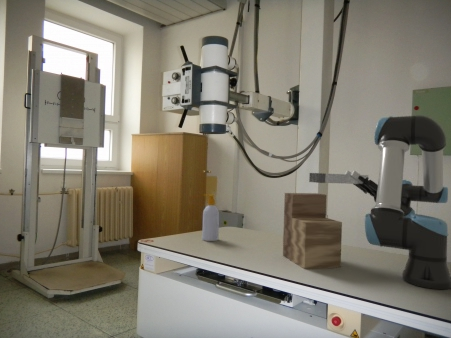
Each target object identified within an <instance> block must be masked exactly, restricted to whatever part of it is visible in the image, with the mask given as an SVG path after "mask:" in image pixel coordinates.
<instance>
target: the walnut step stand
mask: <svg viewBox="0 0 451 338" xmlns="http://www.w3.org/2000/svg"><path fill="white" fill-rule="evenodd" d="M283 204H284V207H283V240H282V243H283V244H282V257H284V258H285V259H288V260H289V261H291V262H292V263H294V264H296V265H298V266H299V267H300V268H302V269H304V270H309V269H312V270H313V269H326V268H327V269H328V268H329V267H332V268H341V267H342V266H341V264H342V233H343V222H342V221H339V220H335V219H332V218H327V194H323V193H318V192H317V193H316V192H313V193H312V192H284V203H283ZM329 269H330V268H329Z"/></svg>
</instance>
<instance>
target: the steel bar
mask: <svg viewBox="0 0 451 338" xmlns="http://www.w3.org/2000/svg"><path fill="white" fill-rule="evenodd" d="M360 175H361V176H363V177H364V178H365V179H366V177H368V178H369V174H365V175H364V174H360ZM308 181H309V183H316V184H317V183H318V184H350V185H351V184H352V185H353V184H363V183H360V182H359V181H357V180H356V179H354V178H353V177H352V176H351V175H349V174H345V173H320V172H317V173H316V172H309V179H308Z"/></svg>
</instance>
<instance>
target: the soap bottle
mask: <svg viewBox="0 0 451 338" xmlns="http://www.w3.org/2000/svg"><path fill="white" fill-rule="evenodd" d="M202 196H206V197H208V200H207V206H205V208H204V209H203V211H202V230H201V231H202V234H201V235H202V236H201V239H202V241H206V242H216V241H218V240H219V233H220V231H219V230H220V225H219V223H220V211H219V209H218V208H217V206H215V201H216V200H215V198H214V194H205V193H204V194H202Z"/></svg>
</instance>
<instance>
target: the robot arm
mask: <svg viewBox="0 0 451 338" xmlns="http://www.w3.org/2000/svg"><path fill="white" fill-rule="evenodd" d="M373 138H374V144H375V146H377V148H378V150H379V151H380V152H381V153H380V161H379V171H378V180H377V183H376V182H375V181H373V180H372V179H369V176H368V177H366V179H365V178H364V177H363V176H361V175H362V174H360V173H358V172H357V171H356V170H355V169H354V170H353V171H352V172H351V171H349V170H348V169H346V171H345V173H344V174H349V175H351V176H352V177H353V178H354V179H356V180H357V181H359V182H360V183H363V184H352V185H353V186H355V187H357V188H358V189H359V190H361V191H362V192H363V193H364V194H366V195H367V194H368V195H370V196H371V197H373V201H374V203H375V205H374V206H373V207H372V208H370V213H367V214H366V213H365V217H364V229H365V230H364V231H365V237H366V240H367V243H369V244H370V245H373V246H378V247H380V248H382V247H384V248H385V247H386V248H392V249H399V250H406V251H408V259H407V261H406V264H405V267H404V270H403V271H402V280H403V281H405V282H406V283H408V284H411V285H414V286H417V287H421V288H425V289H434V290H449V289H451V274H450V271H449V267H448V263H447V261H448V259H447V258H448V257H447V256H448V237H449V232H448V224H447V222H446V221H445V220H443V219H441V218H439V217H434V216H430V215H425V214H417V213H416V211H415V210H414V209H413V207H412V206H411V204H412V203H411V202H419V203H421V202H422V203H423V202H424V203H430V204H431V203H433V204H446V203H448V200H449V188H448V187H446V186H444V149H445V148H446V146H447V137H446V134H445V131H444V129H443V128H442V126H441V125H440V124H439V123H438V122H437V121H435V119H433V118H431V117H429V116H425V115H405V116H403V115H402V116H387V117H382V118H380V119H379V120H378V121H377V123H376V126H375V129H374V137H373ZM411 145H413V146H415V145H416V146H417V145H418V148H419V149H420V150H421V160H422V161H421V162H422V182H423V184H422V185H413V183H412V182H411V181H410V180H406V179H404V169H405V168H404V166H405V154H406V152H408V151H409V150H410V146H411Z"/></svg>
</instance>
